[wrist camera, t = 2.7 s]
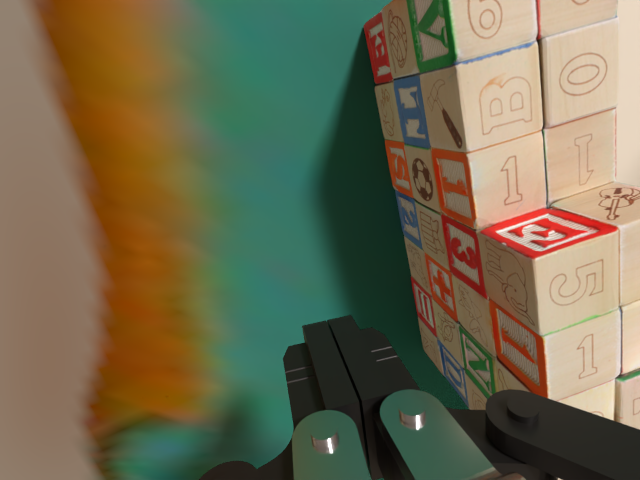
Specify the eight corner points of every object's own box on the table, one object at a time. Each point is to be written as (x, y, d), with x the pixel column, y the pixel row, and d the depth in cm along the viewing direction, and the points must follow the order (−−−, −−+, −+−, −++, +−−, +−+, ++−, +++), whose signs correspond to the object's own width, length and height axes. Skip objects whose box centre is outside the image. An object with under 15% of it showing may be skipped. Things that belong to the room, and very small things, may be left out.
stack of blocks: (357, 23, 20) (506, -107, 9) (466, -5, 21) (745, -164, 9) (423, 351, 27) (552, 523, 16) (502, 324, 28) (684, 470, 16)
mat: (726, -47, 22) (734, -50, 22) (664, 311, 30) (669, 314, 30) (509, -22, 21) (514, -25, 20) (502, 351, 28) (505, 354, 28)
